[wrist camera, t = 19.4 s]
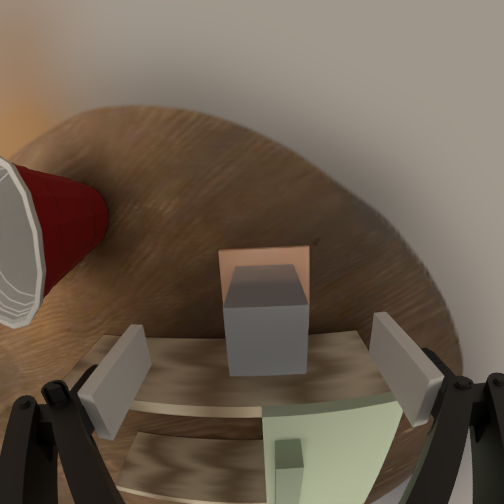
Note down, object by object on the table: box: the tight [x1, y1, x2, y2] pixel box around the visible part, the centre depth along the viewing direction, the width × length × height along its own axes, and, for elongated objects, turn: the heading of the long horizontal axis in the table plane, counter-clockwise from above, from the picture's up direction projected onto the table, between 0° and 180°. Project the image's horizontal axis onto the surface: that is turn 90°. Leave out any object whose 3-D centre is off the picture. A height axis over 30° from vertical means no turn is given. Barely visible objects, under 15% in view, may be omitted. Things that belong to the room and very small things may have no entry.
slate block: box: [223, 264, 309, 376], centre depth 20 cm, size 4×4×8 cm
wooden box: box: [62, 330, 391, 504], centre depth 23 cm, size 24×15×9 cm, turn 93°
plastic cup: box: [0, 156, 108, 329], centre depth 17 cm, size 11×11×12 cm
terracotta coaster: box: [218, 245, 309, 328], centre depth 24 cm, size 7×7×1 cm
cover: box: [262, 391, 403, 504], centre depth 16 cm, size 9×16×3 cm, turn 3°
